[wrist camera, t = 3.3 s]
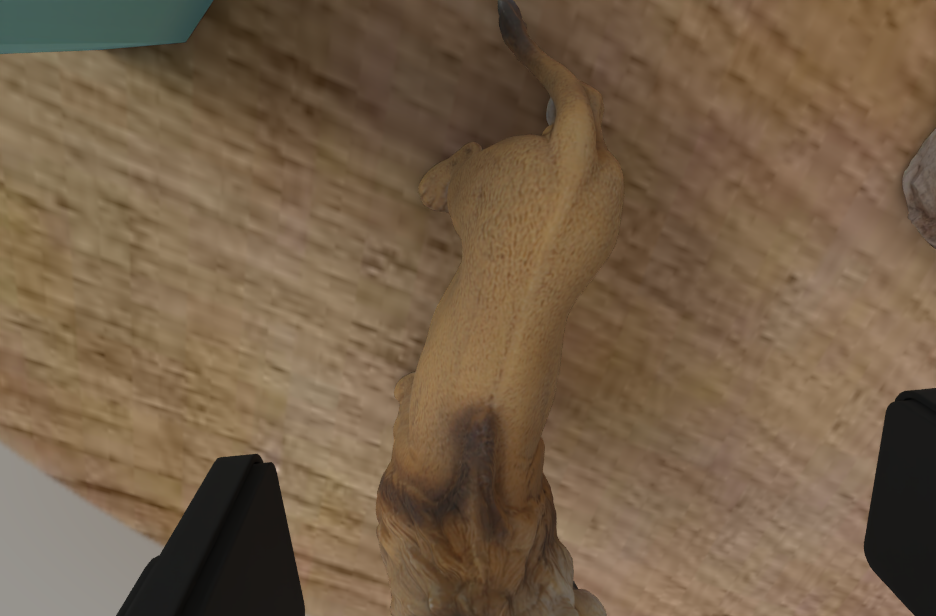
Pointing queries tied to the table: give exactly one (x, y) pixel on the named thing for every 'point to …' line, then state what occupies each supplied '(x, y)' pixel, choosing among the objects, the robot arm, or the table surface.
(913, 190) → the stone
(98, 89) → the table surface
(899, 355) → the table surface
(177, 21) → the cup
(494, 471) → the lion figurine
